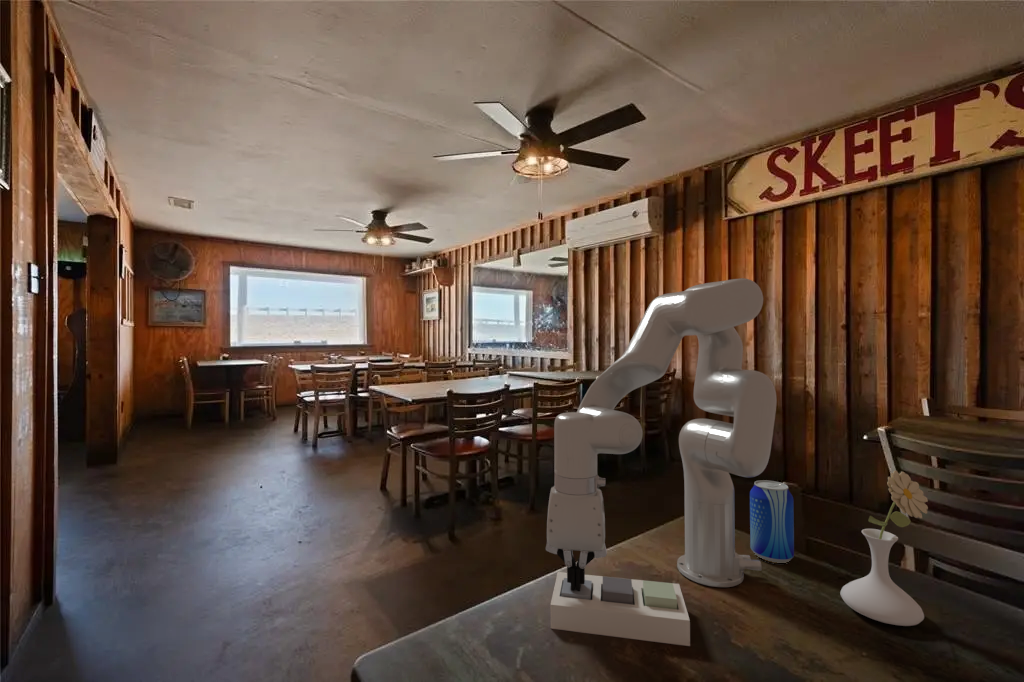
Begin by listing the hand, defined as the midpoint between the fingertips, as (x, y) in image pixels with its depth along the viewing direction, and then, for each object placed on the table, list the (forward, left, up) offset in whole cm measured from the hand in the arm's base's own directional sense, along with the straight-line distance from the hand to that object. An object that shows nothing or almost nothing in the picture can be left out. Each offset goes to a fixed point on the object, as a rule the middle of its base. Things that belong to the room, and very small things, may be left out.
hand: (576, 586), depth 80 cm
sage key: (-14, 0, -2) cm, 14 cm away
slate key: (0, 0, -3) cm, 3 cm away
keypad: (-7, 0, -5) cm, 8 cm away
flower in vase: (-53, -11, -5) cm, 54 cm away
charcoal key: (-7, 0, -2) cm, 7 cm away
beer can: (-41, -30, -5) cm, 51 cm away
